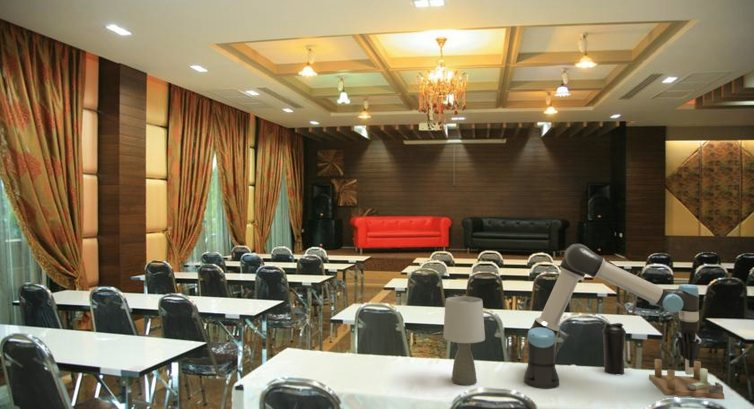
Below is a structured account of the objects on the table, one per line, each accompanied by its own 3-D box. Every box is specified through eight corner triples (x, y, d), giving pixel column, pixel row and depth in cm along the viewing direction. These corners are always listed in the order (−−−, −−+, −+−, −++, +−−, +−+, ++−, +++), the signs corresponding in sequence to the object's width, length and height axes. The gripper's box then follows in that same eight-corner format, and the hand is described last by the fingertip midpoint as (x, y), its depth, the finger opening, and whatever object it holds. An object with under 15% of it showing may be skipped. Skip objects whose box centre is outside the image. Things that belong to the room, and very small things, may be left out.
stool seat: (665, 395, 222) (665, 372, 222) (649, 378, 243) (648, 357, 243) (724, 398, 218) (723, 375, 218) (701, 381, 239) (701, 360, 239)
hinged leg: (693, 391, 220) (692, 373, 220) (685, 388, 223) (685, 371, 223) (709, 387, 225) (709, 369, 225) (702, 384, 228) (701, 367, 228)
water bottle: (628, 375, 248) (628, 326, 248) (605, 374, 250) (604, 325, 250) (623, 369, 257) (622, 321, 258) (600, 368, 259) (600, 320, 260)
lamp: (435, 381, 239) (434, 299, 240) (458, 372, 253) (458, 294, 253) (470, 391, 227) (470, 304, 227) (493, 381, 240) (492, 299, 241)
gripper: (670, 317, 239) (670, 370, 239) (693, 323, 226) (693, 379, 226) (684, 316, 241) (685, 369, 241) (708, 322, 228) (708, 378, 228)
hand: (689, 374), depth 233 cm, fingers closed
